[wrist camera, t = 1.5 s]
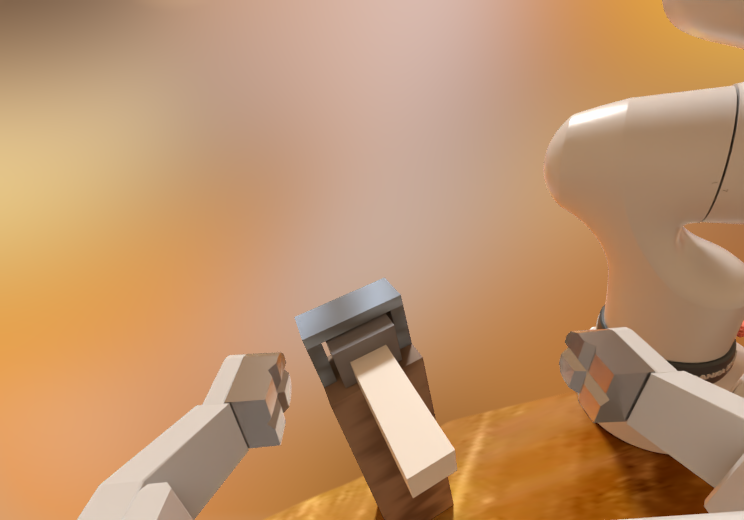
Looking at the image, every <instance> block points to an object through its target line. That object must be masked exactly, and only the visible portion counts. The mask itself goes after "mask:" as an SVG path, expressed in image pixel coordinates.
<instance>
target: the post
mask: <svg viewBox="0 0 744 520" xmlns="http://www.w3.org/2000/svg"><path fill="white" fill-rule="evenodd" d="M384 313H386V315H387V316H388V317H389V319H390V320H391V321H392V323H393V324H394V326H395V330H396V334H397V339H398V343H399V348H400V352H401V356H402V360H400V361H399V362H398V364H399V365H400V367H401V368H402V370H403V371H404V373H405V374H406V376H407V377H408V379H409V381H410V382H411V384H412V385H413V387H414V388H415V390H416V391H417V393H418V394H419V396H420V397H421V399H422V400H423V402H424V403H425V405H426V407H427V408H428V410H429V411H430V413H431V414H432V416H433V417H434V419H435V414H434V409H433V404H432V400H431V395H430V390H429V385H428V381H427V376H426V371H425V366H424V361H423V357H422V356H421V355H420V353H419V352H418V351H417V350H416V348H415V347H414V346H413V345H412V343H411V338H410V334H409V329H408V325H407V321H406V316H405V312H404V308H403V303H402V299H401V295H400V294H399V293H398V292H397V290H396V289H395V288H394V287H393V286H392V285H391V284H390V283H389V282H388V281H387V280H386V279H385V278H382V279H380V280H378V281H376V282H374V283H371V284H369V285H367V286H364V287H362V288H360V289H358V290H355V291H353V292H351V293H348V294H346V295H344V296H342V297H339V298H337V299H335V300H332V301H330V302H328V303H326V304H323V305H321V306H319V307H317V308H314V309H312V310H310V311H308V312H306V313H303V314H301V315H299V316H296V317H295V320H296V323H297V326H298V329H299V332H300V335H301V338H302V341H303V343H304V345H305V347H306V349H307V352H308V354H309V356H310V358H311V360H312V362H313V364H314V367H315V369H316V371H317V373H318V375H319V377H320V379H321V382H322V384H323V386H324V388H325V391H326V394H327V397H328V399H329V402H330V405H331V407H332V409H333V411H334V414H335V416H336V418H337V420H338V422H339V424H340V426H341V428H342V430H343V433H344V435H345V437H346V439H347V441H348V443H349V446H350V448H351V449H352V452H353V454H354V456H355V458H356V460H357V463H358V465H359V467H360V469H361V471H362V473H363V475H364V477H365V480H366V482H367V484H368V486H369V488H370V490H371V492H372V494H373V497H374V499H375V501H376V503H377V505H378V507H379V509H380V512H381V514H382V516H383V518H384V520H431V519H433V518H434V517H436V516H437V515H439V514H440V513H442V512H443V511H445V510H446V509H448V508H449V507H451V506H452V505H454V504H453V500H452V495H451V490H450V485H449V480H448V477H446V478H444V479H443V480H441V481H440V482H438V483H437V484H435V485H433V486H432V487H430V488H429V489H427V490H425V491H424V492H422V493H421V494H419V495H418V496H416V497H414V498H413V497H412V495H411V493H410V491H409V489H408V487H407V485H406V483H405V481H404V479H403V476H402V474H401V472H400V470H399V468H398V466H397V464H396V462H395V460H394V458H393V456H392V453H391V451H390V449H389V447H388V445H387V443H386V441H385V439H384V437H383V435H382V433H381V431H380V428H379V426H378V424H377V422H376V420H375V418H374V416H373V414H372V412H371V410H370V408H369V405H368V403H367V401H366V399H365V397H364V395H363V393H362V391H361V389H360V387H359V385H358V383H356V384H354V385H352V386H350V387H348V388H345V386H344V383H343V381H342V379H341V376H340V374H339V372H338V369H337V367H336V365H335V362H334V360H333V358H332V355H330V356H328V357H327V356H326V354H325V351H324V349H323V346H322V344H321V343H322V342H325V341H327V340H329V339H331V338H333V337H335V336H338V335H340V334H342V333H344V332H346V331H348V330H350V329H353V328H355V327H357V326H359V325H361V324H363V323H365V322H367V321H370V320H372V319H374V318H376V317H378V316H380V315H382V314H384ZM435 420H436V419H435Z"/></svg>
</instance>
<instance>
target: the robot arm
mask: <svg viewBox="0 0 744 520" xmlns="http://www.w3.org/2000/svg"><path fill="white" fill-rule="evenodd" d="M662 2H663V7H664V11H665V13H666V15H667V17H668V19H669V20H670V22H671V23H672V24H673V25H674V26H675V27H677V28H678V29H680V30H681V31H683V32H686V33H687V34H690V35H693V36H695V37H698V38H701V39H704V40H708V41H712V42H716V43H720V44H725V45H729V46H734V47H737V48H741V49H744V0H662ZM544 178H545V183H546V186H547V189H548V191H549V193H550V194H551V196H552V198H553V199H554V200H555V201H556V203H557V204H558V205H559V206H560V207H562V208H564V209H565V210H567V211H568V212H570V213H572V214H573V215H574V216H576V217H577V218H578V219H579V220H580V221H582V222H583V223H584V224H585V225H586V226H587V227H588V228H589V229H590V230H591V231H592V233H593V234H594V235H595V236H596V238H597V239H598V241H599V242H600V244H601V246H602V248H603V250H604V253H605V255H606V258H607V262H608V289H607V298H606V304H605V305H604V306H603V307H602V309H601V311H600V314H599V316H598V319H597V324H596V327H592V328H591V329H590V330H584V331H573V332H570V333H569V334H568V335H567V337H566V340H565V343H566V345H567V346H568V348H567V349H566V350H565V351H564V352H563V353H562V354H561V358H560V362H559V365H560V372H561V374H562V377H563V379H564V381H565V382H566V384H567V385H568V387H569V388H571V389H572V390H574V391H576V392H577V393H578V396H579V399H578V401H579V403H580V404H581V406H582V407H583V409H584V410H585V411H586V413H587V414H588V416H589V417H590V419H591V420H592V421H593V423H598V424H599V425H601V426H602V427H603V428H604V429H606V430H607V431H608V432H610V433H611V434H613V435H614V436H616V437H618V438H619V439H621V440H623V441H625V442H627V443H629V444H632V445H634V446H636V447H639V448H642V449H645V450H649V451H652V452H657V453H663V454H669V455H670V456H672V457H673V458H674V459H676V460H677V461H678V462H680V463H681V464H682V465H684V466H685V467H687V468H688V469H689V470H691V471H692V472H693V473H695V474H696V475H697V476H699V477H700V478H702V479H703V480H704V481H706V482H707V483H708V484H710V485H711V486H712V487H714V490H713V491H712V492H711V493H710V494H709V495H708V497H707V498H706V499H705V501H704V507H705V508H706V510H707V511H708V512H709V513H706V514H691V515H677V516H663V517H649V518H635V519H620V520H744V347H742V346H741V345H740V344H738V343H737V342H736V339H735V338H736V336H738V337H743V336H744V263H743V262H741V261H740V260H739V259H738V258H737V257H735V256H734V255H732V254H731V253H730V252H728V251H727V250H725V249H723V248H722V247H720V246H718V245H716V244H713V243H711V242H709V241H707V240H704V239H702V238H700V237H697V236H696V235H694V234H692V233H691V232H689V231H688V230H686V229H685V228H684V227H683V226H684V225H686V224H689V223H700V222H712V223H731V224H744V82H742V83H738V84H734V85H732V86H726V87H718V88H710V89H701V90H693V91H685V92H677V93H668V94H659V95H652V96H643V97H634V98H628V99H624V100H621V101H617V102H613V103H610V104H606V105H602V106H599V107H596V108H593V109H589V110H586V111H582V112H579V113H576V114H573V115H572V116H571V117H570V118H569V119H567V120H566V121H565V123H564V124H563V125H562V126H561V127H560V128H559V129H558V131H557V132H556V133H555V135H554V137H553V138H552V140H551V142H550V144H549V146H548V149H547V152H546V155H545V160H544ZM285 364H286V360H285V357H284V354H283V353H260V354H246V355H229V356H228V357H227V358H225V360H224V362H223V364H222V366H221V368H220V370H219V372H218V374H217V376H216V378H215V380H214V382H213V384H212V386H211V388H210V390H209V392H208V394H207V396H206V398H205V400H204V402H203V404H202V405H198V406H195V407H194V408H193V409H192V410H191V411H189V412H188V413H187V414H186V415H185V416H183V417H182V418H181V419H180V420H178V421H177V422H176V423H175V424H173V425H172V426H171V427H170V428H169V429H167V430H166V431H165V432H164V433H162V434H161V435H160V436H159V437H158V438H156V439H155V440H154V441H153V442H151V443H150V444H149V445H148V446H147V447H145V448H144V449H143V450H142V451H141V452H139V453H138V454H137V455H136V456H134V457H133V458H132V459H131V460H130V461H128V462H127V463H126V464H125V465H123V466H122V467H121V468H120V469H119V470H117V471H116V472H115V473H114V474H112V475H111V476H110V477H109V478H108V479H106V480H105V481H104V482H103V483H102V484H100V485H99V487H98V488H97V490H96V491H95V493H94V494H93V496H92V498H91V499H90V501H89V502H88V504H87V505H86V507H85V508H84V510H83V511H82V513H81V514H80V516H79V517H78V519H77V520H194V519H195V518H196V517H197V515H198V514H199V513H200V512H201V510H202V509H203V508H204V506H205V505H206V504H207V503H208V501H209V500H210V499H211V498H212V496H213V495H214V494H215V493H216V491H217V490H218V489H219V488H220V486H221V485H222V484H223V482H224V481H225V480H226V479H227V477H228V476H229V475H230V474H231V472H232V471H233V470H234V468H235V467H236V466H237V465H238V463H239V462H240V461H241V460H242V458H243V457H244V456H245V454H246V453H247V452H248V448H258V447H267V446H277V445H281V441H282V436H283V432H284V428H285V423H286V421H285V418H284V414H283V413H284V412H285V411H286V410H287V409H288V408H289V404H290V399H291V380H290V375H289V373H288V372H287V371H285V370H284V368H285Z"/></svg>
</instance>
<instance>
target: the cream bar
mask: <svg viewBox="0 0 744 520" xmlns="http://www.w3.org/2000/svg"><path fill="white" fill-rule="evenodd" d="M326 343H327V346H328V348H329V351H330V353H331V355H332V358H333V360H334V362H335V365H336V367H337V369H338V372H339V374H340V376H341V379H342V381H343V383H344V386H345V388H348V387H350V386H352V385H354V384H356V383H358V385H359V387H360V389H361V391H362V393H363V395H364V397H365V399H366V401H367V403H368V405H369V408H370V410H371V412H372V414H373V416H374V418H375V420H376V422H377V424H378V426H379V428H380V431H381V433H382V435H383V437H384V439H385V441H386V443H387V445H388V447H389V449H390V451H391V453H392V456H393V458H394V460H395V462H396V464H397V466H398V468H399V470H400V472H401V474H402V476H403V479H404V481H405V483H406V485H407V487H408V489H409V491H410V493H411V495H412V497H413V498H414V497H416V496H418V495H419V494H421V493H422V492H424V491H425V490H427V489H429V488H430V487H432V486H433V485H435V484H437V483H438V482H440V481H441V480H443V479H444V478H446V477H448V476H449V475H451V474H452V473H454V472H455V471H457V464H456V455H455V449H454V448H453V446H452V445H451V443H450V442H449V440H448V439H447V437H446V436H445V434H444V433H443V431H442V429H441V428H440V426H439V425H438V423H437V422H436V420H435V419H434V417H433V416H432V414H431V413H430V411H429V410H428V408H427V407H426V405H425V403H424V402H423V400H422V399H421V397H420V396H419V394H418V393H417V391H416V390H415V388H414V387H413V385H412V384H411V382H410V381H409V379H408V377H407V376H406V374H405V373H404V371H403V370H402V368H401V367H400V365H399V364H398V362H399V361H400V360H402V356H401V352H400V348H399V343H398V339H397V334H396V330H395V326H394V324H393V323H392V321H391V320H390V319H389V317H388V316H387V315H386V313H384V314H382V315H380V316H378V317H376V318H374V319H372V320H370V321H367V322H365V323H363V324H361V325H359V326H357V327H355V328H353V329H350V330H348V331H346V332H344V333H342V334H340V335H338V336H335V337H333V338H331V339H329V340H327V341H326Z"/></svg>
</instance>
